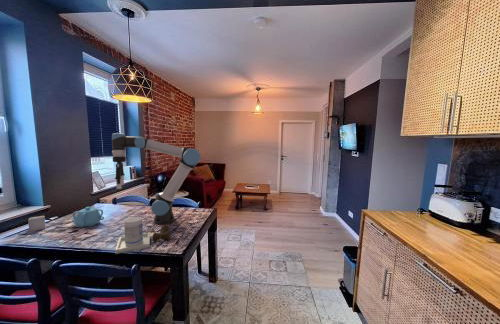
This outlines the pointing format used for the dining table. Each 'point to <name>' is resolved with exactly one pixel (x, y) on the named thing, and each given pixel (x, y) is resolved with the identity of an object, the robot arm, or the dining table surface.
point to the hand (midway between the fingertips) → (120, 186)
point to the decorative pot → (87, 217)
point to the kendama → (162, 234)
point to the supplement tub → (133, 231)
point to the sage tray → (123, 247)
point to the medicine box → (36, 223)
